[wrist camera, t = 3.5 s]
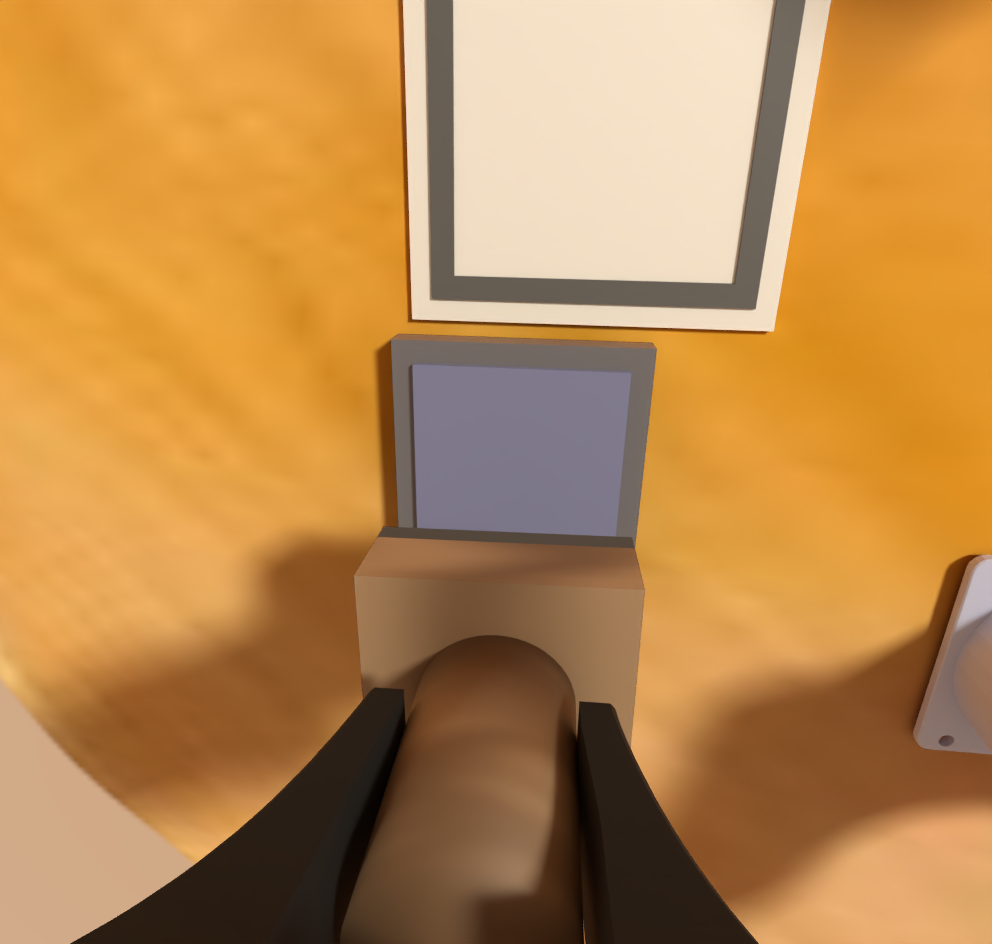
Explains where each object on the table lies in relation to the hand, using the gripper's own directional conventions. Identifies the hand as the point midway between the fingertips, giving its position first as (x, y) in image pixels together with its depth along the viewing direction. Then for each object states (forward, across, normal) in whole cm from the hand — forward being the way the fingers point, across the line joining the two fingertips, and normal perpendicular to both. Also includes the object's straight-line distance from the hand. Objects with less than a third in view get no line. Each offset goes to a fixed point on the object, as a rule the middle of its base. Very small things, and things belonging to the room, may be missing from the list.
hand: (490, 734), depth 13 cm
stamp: (+4, 0, 0) cm, 4 cm away
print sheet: (+10, -2, -12) cm, 16 cm away
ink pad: (+10, 0, -2) cm, 11 cm away
